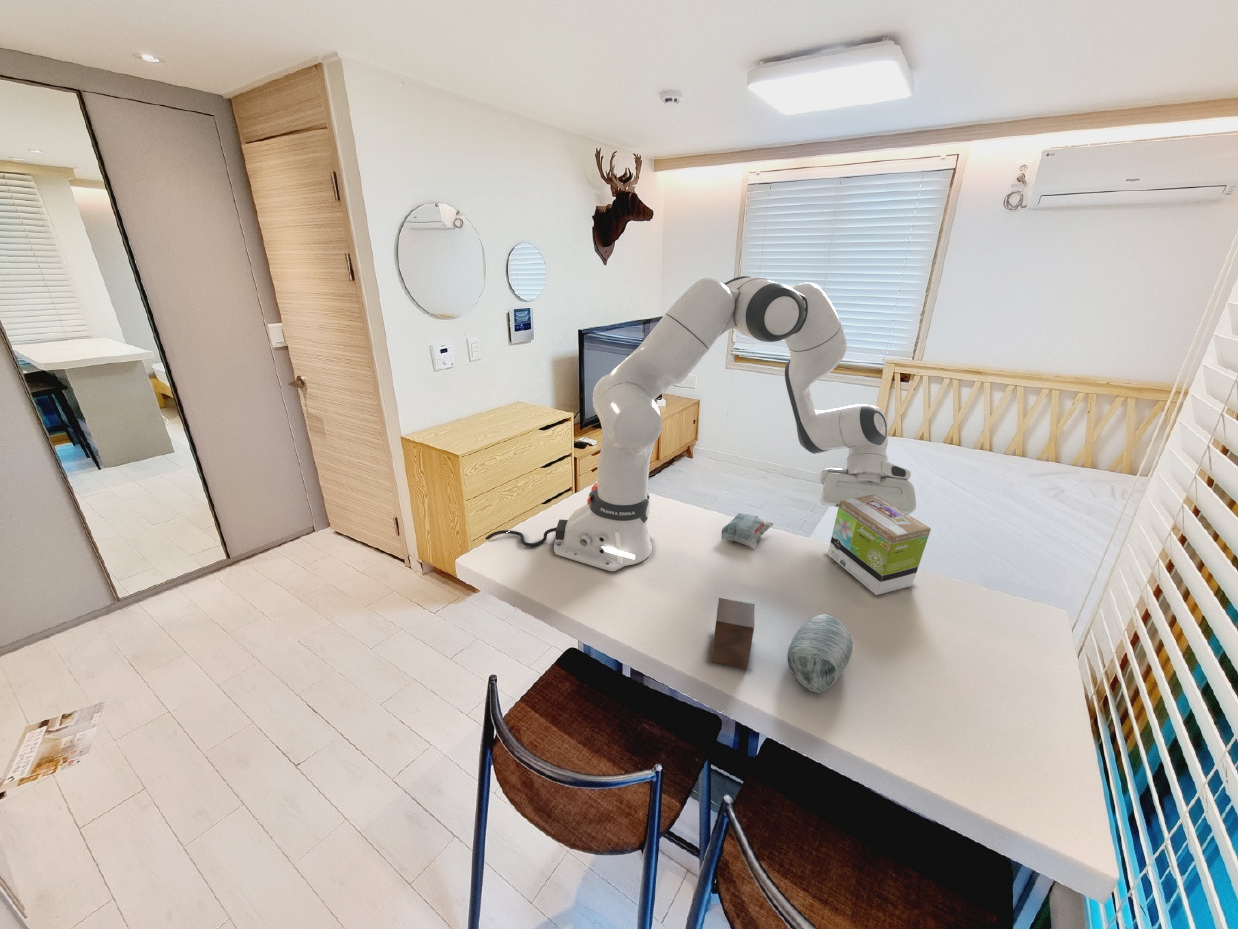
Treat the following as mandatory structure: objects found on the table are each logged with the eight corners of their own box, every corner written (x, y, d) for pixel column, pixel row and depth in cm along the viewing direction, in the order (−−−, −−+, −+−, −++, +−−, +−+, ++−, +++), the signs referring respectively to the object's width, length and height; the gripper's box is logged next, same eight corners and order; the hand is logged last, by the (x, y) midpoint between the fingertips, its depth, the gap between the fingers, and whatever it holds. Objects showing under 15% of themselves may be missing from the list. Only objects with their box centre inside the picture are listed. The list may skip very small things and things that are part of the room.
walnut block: (711, 662, 85) (716, 621, 81) (713, 637, 90) (718, 597, 87) (747, 669, 84) (754, 628, 80) (747, 644, 89) (754, 603, 85)
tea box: (825, 555, 114) (838, 498, 108) (860, 548, 117) (874, 492, 111) (876, 597, 101) (894, 535, 95) (913, 587, 105) (933, 526, 98)
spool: (841, 703, 74) (828, 635, 75) (781, 694, 81) (769, 632, 81) (869, 670, 84) (857, 610, 85) (813, 664, 91) (803, 609, 91)
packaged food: (771, 533, 123) (774, 515, 121) (753, 556, 114) (756, 537, 112) (737, 522, 127) (739, 505, 125) (718, 543, 118) (719, 525, 116)
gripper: (823, 462, 119) (821, 518, 114) (918, 472, 115) (919, 531, 110) (818, 471, 125) (815, 525, 120) (908, 480, 120) (908, 537, 116)
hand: (865, 528), depth 115 cm, fingers closed
